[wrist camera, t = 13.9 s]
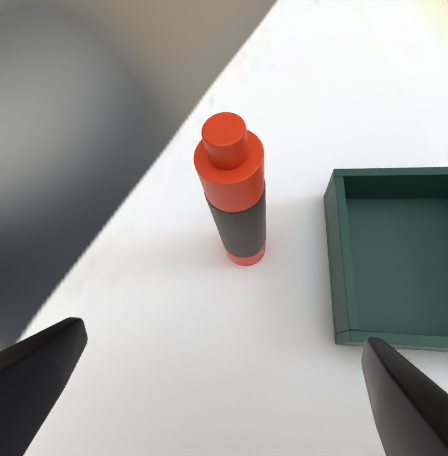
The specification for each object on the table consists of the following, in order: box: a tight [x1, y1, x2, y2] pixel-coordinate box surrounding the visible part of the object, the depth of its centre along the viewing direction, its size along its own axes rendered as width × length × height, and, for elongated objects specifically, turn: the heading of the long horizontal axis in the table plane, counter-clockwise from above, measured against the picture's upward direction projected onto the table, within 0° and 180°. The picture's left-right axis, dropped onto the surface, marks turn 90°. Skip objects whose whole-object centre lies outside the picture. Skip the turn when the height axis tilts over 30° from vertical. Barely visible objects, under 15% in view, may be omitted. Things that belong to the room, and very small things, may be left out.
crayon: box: [194, 112, 266, 265], centre depth 17 cm, size 3×3×13 cm
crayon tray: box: [324, 167, 448, 352], centre depth 19 cm, size 11×10×4 cm
